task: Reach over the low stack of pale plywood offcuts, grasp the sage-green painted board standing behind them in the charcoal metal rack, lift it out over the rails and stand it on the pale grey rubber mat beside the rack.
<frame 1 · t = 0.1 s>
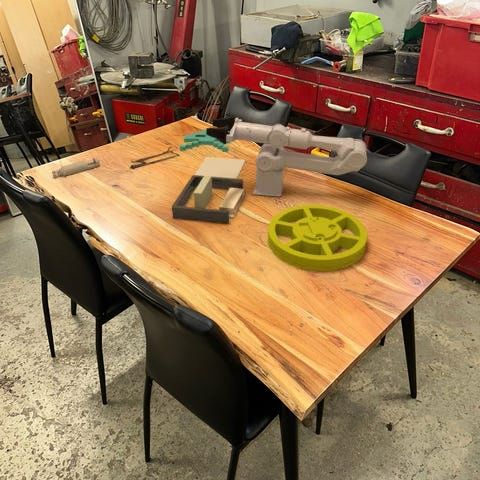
hand: (209, 126, 141), 22 cm above the table, tool horizontal, fingers open, 7 cm apart
alien figure: (207, 143, 187), on the table
sage board: (204, 202, 144), on the table
offcut rack: (210, 203, 144), on the table
hacksaw: (154, 158, 175), on the table
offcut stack: (232, 206, 143), on the table
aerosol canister: (77, 172, 166), on the table
pulley: (315, 242, 126), on the table
rubber mat: (219, 170, 164), on the table
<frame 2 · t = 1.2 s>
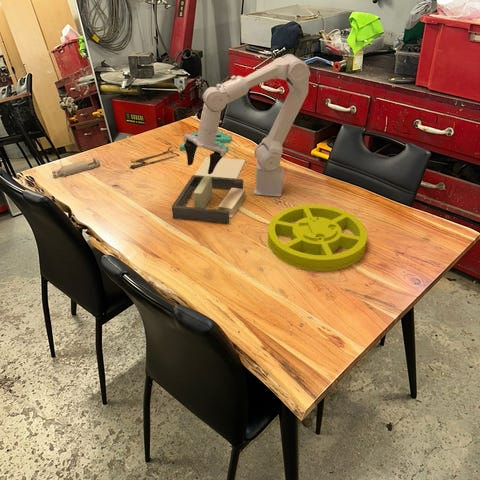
hand: (200, 168, 139), 11 cm above the table, tool tilted 15°, fingers open, 7 cm apart
nothing on the table moved.
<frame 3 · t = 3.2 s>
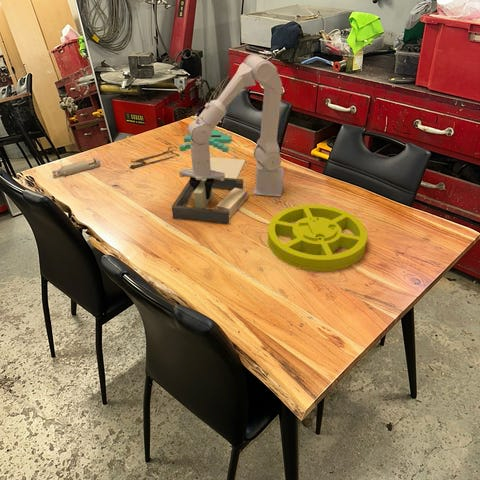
hand: (203, 197, 143), 2 cm above the table, tool pointing down, fingers closed on sage board, 2 cm apart
sage board: (204, 202, 144), on the table, touching gripper
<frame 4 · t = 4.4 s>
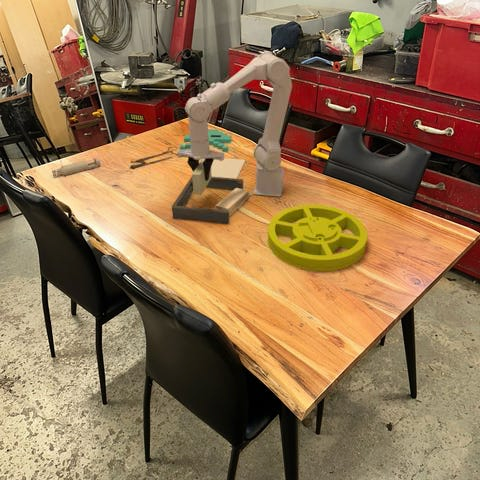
hand: (202, 179, 139), 9 cm above the table, tool pointing down, fingers closed on sage board, 2 cm apart
sage board: (202, 185, 141), point 6 cm above the table, touching gripper
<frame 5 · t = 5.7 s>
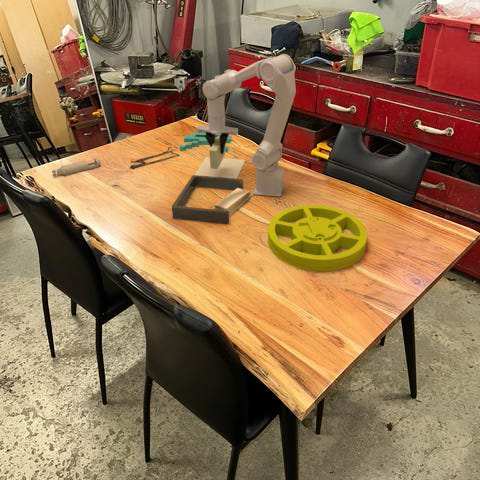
hand: (218, 152, 155), 9 cm above the table, tool pointing down, fingers closed on sage board, 2 cm apart
sage board: (218, 161, 157), point 6 cm above the table, touching gripper
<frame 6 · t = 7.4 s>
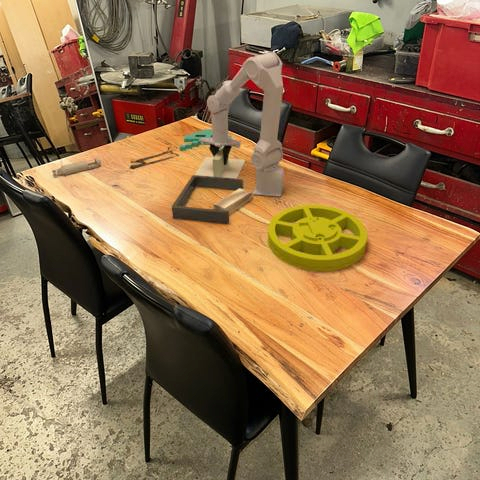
hand: (221, 163, 162), 3 cm above the table, tool pointing down, fingers closed on sage board, 2 cm apart
sage board: (221, 170, 163), resting on rubber mat, touching gripper
when the fingers open (3 cm above the table, at t = 7.5 s): sage board stays where it is, resting on rubber mat.
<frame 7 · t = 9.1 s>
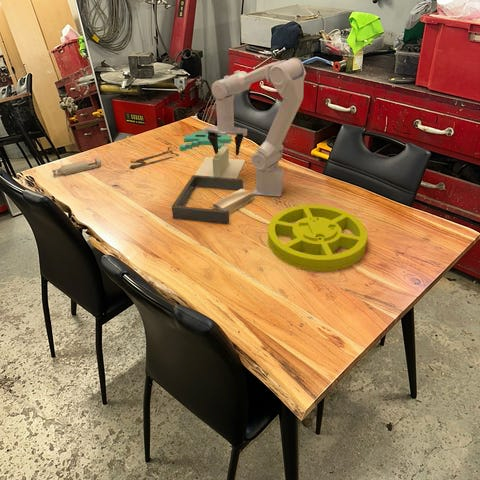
hand: (227, 153, 154), 9 cm above the table, tool pointing down, fingers open, 7 cm apart
sage board: (221, 170, 163), resting on rubber mat
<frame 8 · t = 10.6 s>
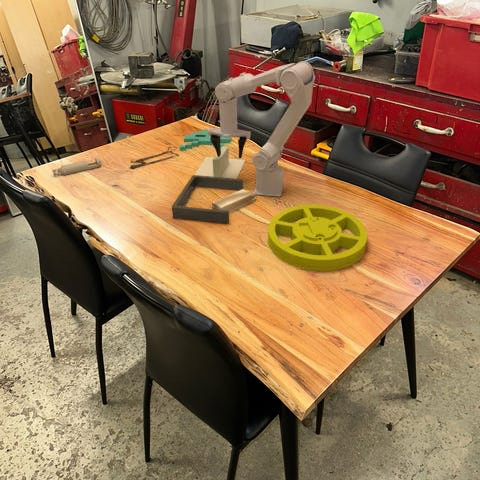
hand: (229, 156, 152), 9 cm above the table, tool pointing down, fingers open, 7 cm apart
at the end: sage board inside the target area on the rubber mat (1.0 cm from its centre), point 0.5 cm above the rubber mat's base; the gripper is holding nothing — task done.
